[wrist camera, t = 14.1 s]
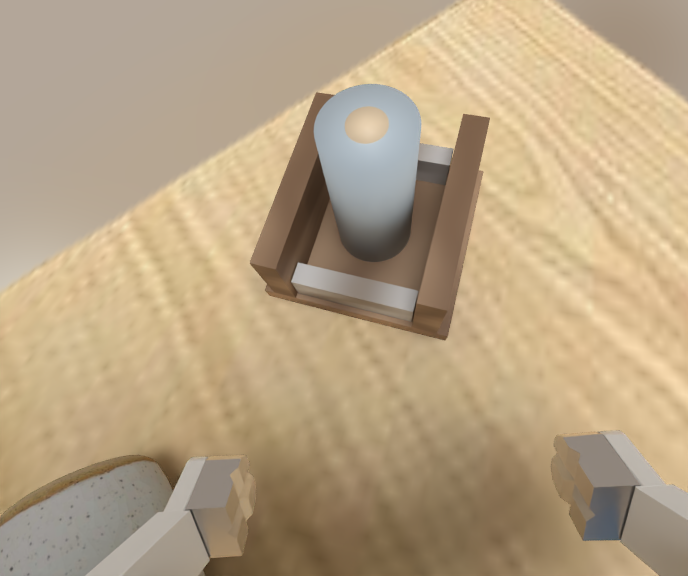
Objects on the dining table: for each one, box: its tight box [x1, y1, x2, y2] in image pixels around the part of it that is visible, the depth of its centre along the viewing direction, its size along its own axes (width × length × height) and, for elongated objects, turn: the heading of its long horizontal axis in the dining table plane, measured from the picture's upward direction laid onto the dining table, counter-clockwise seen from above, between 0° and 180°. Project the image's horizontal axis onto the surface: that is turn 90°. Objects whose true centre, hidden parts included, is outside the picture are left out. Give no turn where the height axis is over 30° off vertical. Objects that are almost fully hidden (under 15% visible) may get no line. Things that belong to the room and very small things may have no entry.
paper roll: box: [314, 84, 421, 262], centre depth 21 cm, size 4×4×9 cm
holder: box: [250, 92, 490, 340], centre depth 23 cm, size 11×11×6 cm
